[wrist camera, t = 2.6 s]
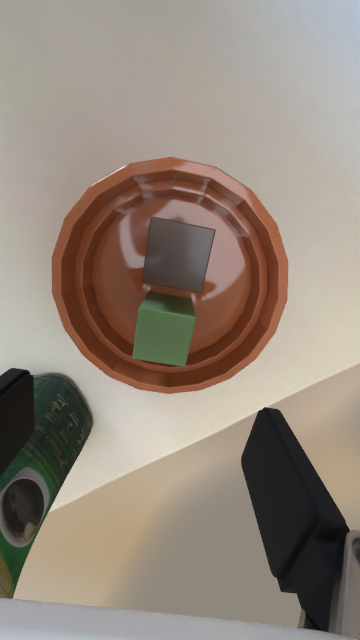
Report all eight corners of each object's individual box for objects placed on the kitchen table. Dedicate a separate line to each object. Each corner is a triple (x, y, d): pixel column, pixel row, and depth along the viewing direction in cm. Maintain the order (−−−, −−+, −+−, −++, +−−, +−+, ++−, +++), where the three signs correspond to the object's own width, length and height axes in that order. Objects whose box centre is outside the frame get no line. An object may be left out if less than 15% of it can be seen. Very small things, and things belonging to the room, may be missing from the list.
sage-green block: (148, 290, 21) (138, 307, 16) (192, 298, 21) (196, 317, 16) (142, 331, 22) (132, 358, 17) (184, 338, 23) (185, 367, 17)
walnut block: (158, 222, 19) (150, 215, 14) (206, 232, 19) (216, 229, 14) (151, 271, 20) (141, 282, 15) (196, 279, 21) (201, 293, 15)
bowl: (84, 158, 18) (50, 129, 13) (290, 202, 19) (326, 190, 14) (77, 349, 24) (52, 376, 19) (235, 374, 25) (249, 406, 20)
